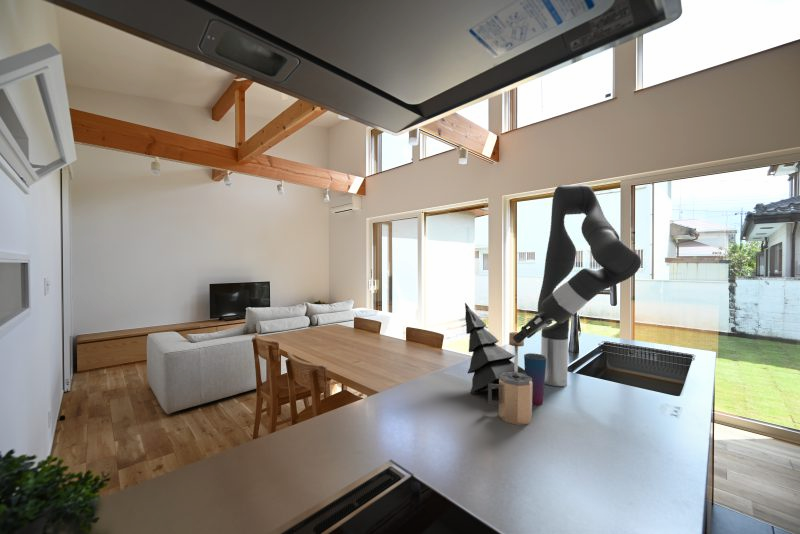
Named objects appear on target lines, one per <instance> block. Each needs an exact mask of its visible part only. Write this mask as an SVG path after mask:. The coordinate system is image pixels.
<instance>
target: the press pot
mask: <svg viewBox="0 0 800 534" xmlns="http://www.w3.org/2000/svg"><path fill="white" fill-rule="evenodd" d="M532 386H533V381H532V378H531V377H529V376H528V375H526V374H522V373H517V378H514V372H503V373H502V374H501V375H500V379H499V384H492V383H488V389H487V405H490V406H491V405H493V406H494V405H495V406H498V417H499V418H500V419H501V420H503V422H506V423H509V424H513V425H515V426H519V425H520V426H521V425H529V424H530V423H531V422H532V419H533V405H532ZM495 388H498V389H499V397H498V400H495V399H493V397H492V395H493V389H495Z"/></svg>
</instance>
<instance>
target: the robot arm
mask: <svg viewBox="0 0 800 534" xmlns="http://www.w3.org/2000/svg"><path fill="white" fill-rule="evenodd" d="M581 214H583V215H585V217H584V219H583V221H582V223H581V227H580V229H581V234H582V236H583V238H584V239H585V242H586V243H587V245H588V246H589V249H590V253H591V255H592V258H593V259H594V261H595V262H596V264H598V265H599V266H600V267H602V268H599V269H598V270H593V269H591V268H582V269H580V270H579V271H578V272H576V274H574V275H573V276H572V277H571V278H570V279H569V280H568V281H566V282H564V283H563V284H561V283H562V282H563V281H564V280H565V279H567V277H568V276H569V275H570V274H571V272H572V271H573V269H574V266H575V260H576V256H577V248H576V246H575V244H574V242H573V240H572V239H571V236H570V235H569V234H568V232H567V229H566V227H565V217H566V216H567V215H568V216H569V215H581ZM641 264H642V260H641V257H640V256H639V255H638V254H637V252H635V251H633V250H632V249H631V248H629V247H628V246H627V245H626V244H625V243H623V242H622V241H621V240H620V235H619V233H618V232H617V230H615V228H614V226H613V225H612V224H611V222H609V221H608V220H607V217H605V215H604V212H603V210H602V207H601V205H600V202H599V200H598V198H597V196H596V194H595V191H594V189H593V188H592V187H591V186H590V185H588V184H569V185H567V184H566V185H559V186H557V187H556V188H555V189H554V192H553V195H552V203H551V217H550V231H549V237H548V244H547V249H546V254H545V263H544V271H543V278H542V284H541V289H540V293H539V297H538V302H537V314H535V315H534V317H532V318H531V319H530V320H528V322H527V323H526V324H525V325H523V326H521V328H520V331H518V332H517V334H516V335H515V336H514V337H513V339H514V340H515V342H516V343H520V342H521V341H523V340H524V341H525V339H526V338H527V339H531V338H532V337H533V336H534V335H535V334H536V333H538V332H539V331H540V332H541V340H540V341H541V342H540V343H541V344H540V345H541V348H540V349H541V350H540V353H539V354H540V355H544V356H546V357H547V359H546V370H545V382H544V385H545V384H546V385H548V386H554V387H565V386H567V385H568V363H569V362H568V360H569V331H570V318H571V317H572V316H574V315H575V314H576V313H577V312H579V311H580V310H581V309H583V308H584V307H585V305H586V304H587V303H589V301H591V300H592V299H593V298H594V297H596V296H597V295H599V293H601V292H602V291H605V290H606V289H609V288H611V287H614V286H616V285H618V284H620V283H622V282H625V281H628V280H629V279H630V278H632V277H633V276H635V275H636V274H637V272H638V271H639V269H640V268H641ZM560 284H561V285H560ZM559 285H560V286H559ZM558 286H559V287H558ZM557 287H558V288H557ZM553 321H554V322H555V323H553ZM551 324H552V325H551Z"/></svg>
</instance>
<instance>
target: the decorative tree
mask: <svg viewBox="0 0 800 534" xmlns="http://www.w3.org/2000/svg"><path fill="white" fill-rule="evenodd" d="M464 305H465V306H464V307H465V318H464V319H465V324H466V325H465V326H466V328H465V329H466V331H465V332H466V335H468V334H469V341H468V353H472V355H471V359H470V363H469V364H470V365H469V368H468V371H467V374H473V376H472V379H471V380H472V381H471V389H470V394H475V393H481V392H483V391H486V390H487V391H488V383H492V384H499V379H500V375H501V374H502V373H503V372H514V362H513V361H512V359H514V358H515V354H512V353H511V352H509V351H507V350H505V349H504V348H502V347H501V346H499V345H497V343H498V342H499V340H498V338H497V337H496V336H494V334H492V333H491V332H490V331H489V330H487V329H486V326H487V324H486V323H485V322H484V321H483V320H482V319H481V318H480V317H479V316H478V315H477V314H476V313H475V312H474V311H473V310H472V309H471V308H470V306H468V304H467V302H465V303H464ZM518 373H522V374H525V368H522V367H521V366H519V365H518ZM494 389H495V392H496V394H497V396H498V398H499V389H498V388H494Z"/></svg>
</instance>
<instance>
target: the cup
mask: <svg viewBox="0 0 800 534" xmlns="http://www.w3.org/2000/svg"><path fill="white" fill-rule="evenodd" d="M540 354H541V353H535V352H534V353H533V352H532V353H531V352H530V353H524V355H523V359H524V361H523V362H524V370H525V374H526V375H528V376H529V377H531V378H532V381H533V386H532V406H541V405H543V401H544V394H545V393H544V390H545V383H544V382H545V370H546V359H547V357H546V356H544V355H540Z"/></svg>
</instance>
